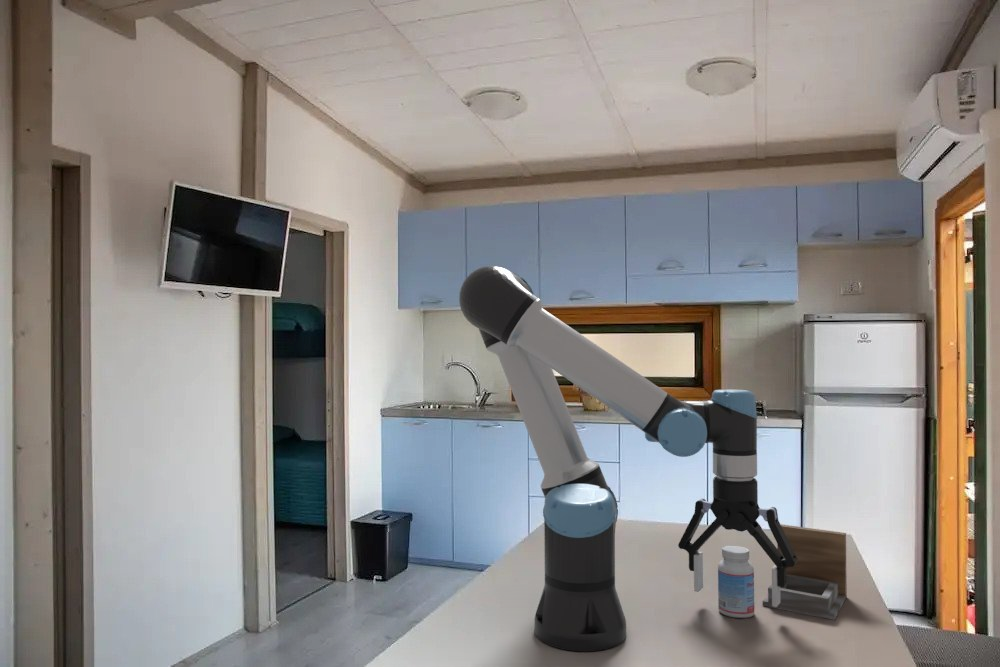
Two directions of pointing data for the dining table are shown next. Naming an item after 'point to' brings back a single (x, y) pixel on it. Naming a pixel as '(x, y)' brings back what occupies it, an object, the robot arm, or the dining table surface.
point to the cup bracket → (814, 573)
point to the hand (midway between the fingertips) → (736, 596)
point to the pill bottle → (735, 583)
